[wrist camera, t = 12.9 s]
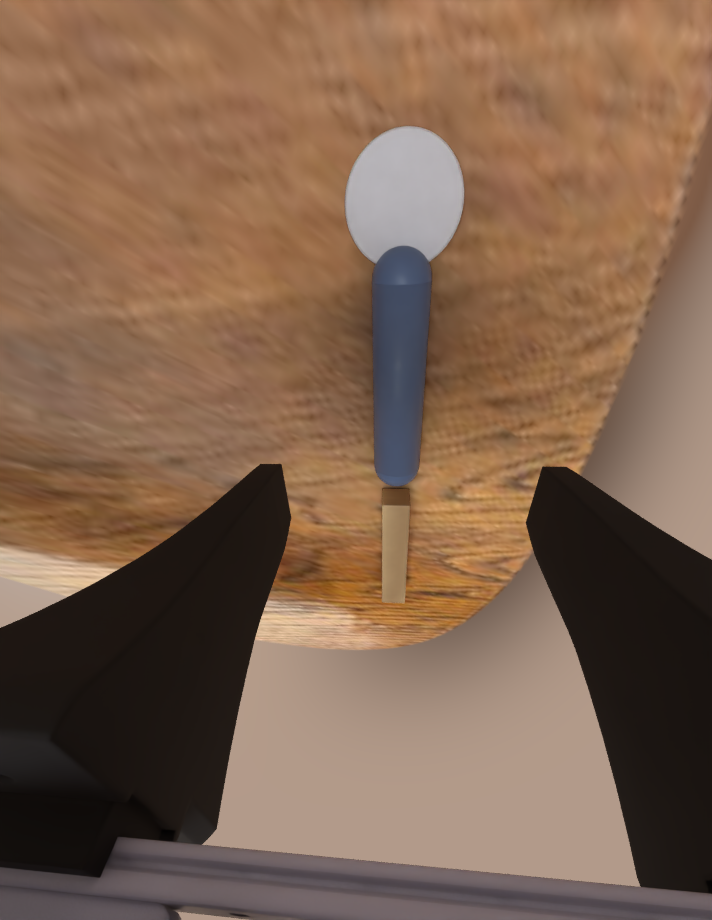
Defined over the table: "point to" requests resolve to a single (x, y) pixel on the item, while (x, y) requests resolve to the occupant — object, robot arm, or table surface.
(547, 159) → the table surface
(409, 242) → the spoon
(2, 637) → the robot arm
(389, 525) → the baton
